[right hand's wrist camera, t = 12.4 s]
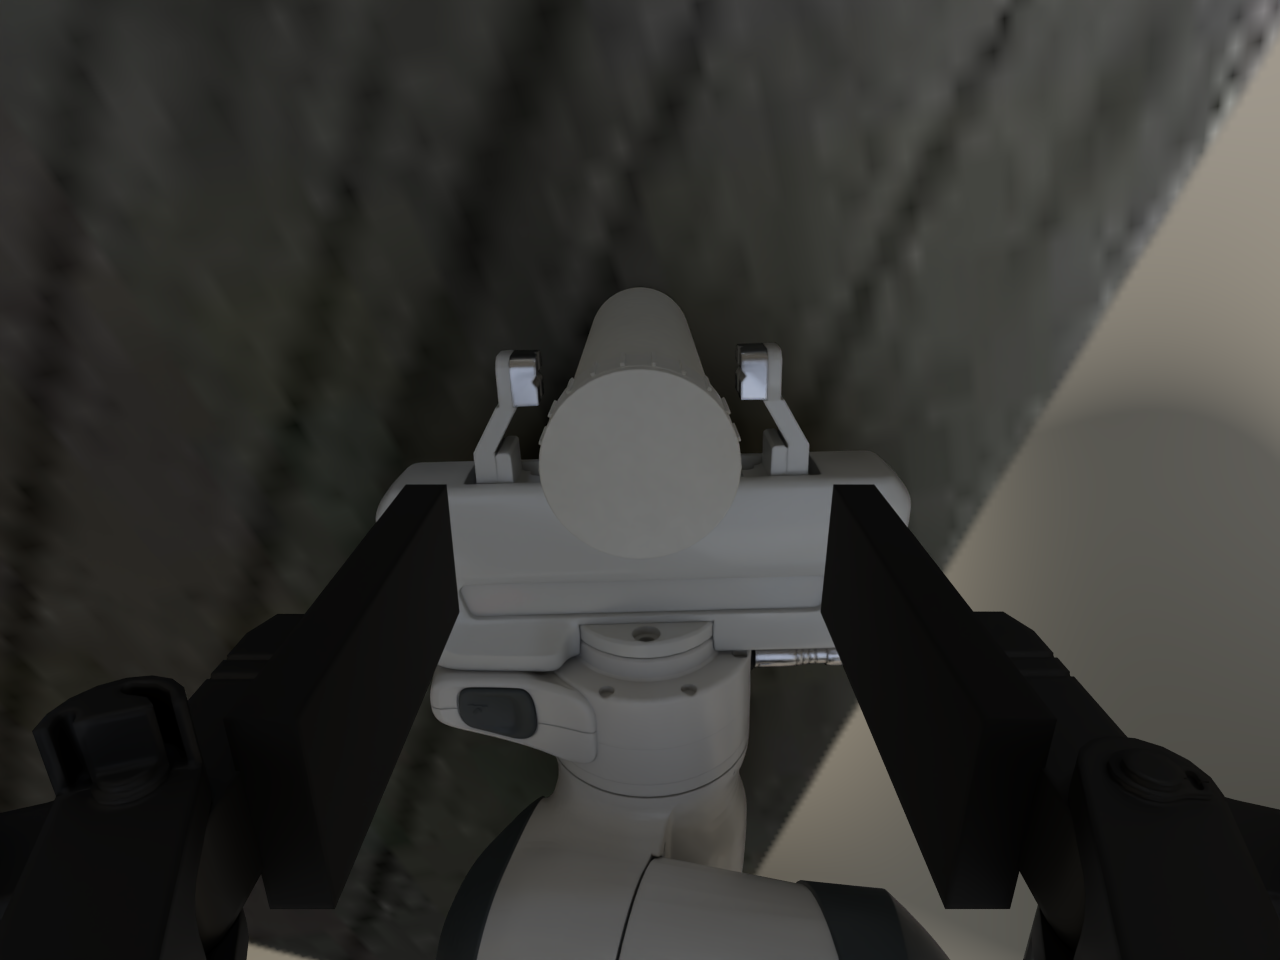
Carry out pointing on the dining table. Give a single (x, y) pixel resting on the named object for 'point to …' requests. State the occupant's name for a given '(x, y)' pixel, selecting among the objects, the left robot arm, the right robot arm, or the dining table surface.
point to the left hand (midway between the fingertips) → (638, 348)
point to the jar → (640, 330)
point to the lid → (640, 456)
